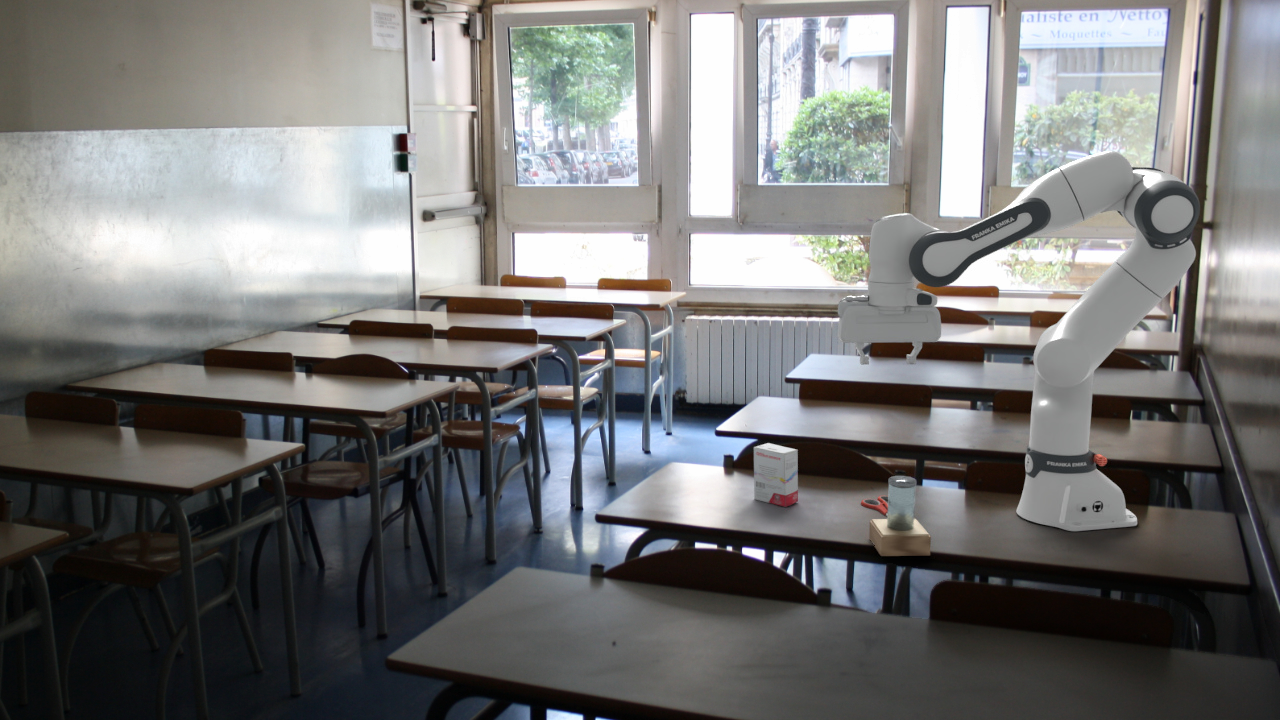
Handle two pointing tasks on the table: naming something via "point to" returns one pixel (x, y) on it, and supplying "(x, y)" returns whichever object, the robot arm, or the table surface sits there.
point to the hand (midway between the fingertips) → (887, 364)
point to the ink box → (776, 474)
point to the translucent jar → (901, 503)
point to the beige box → (899, 539)
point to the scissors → (877, 504)
